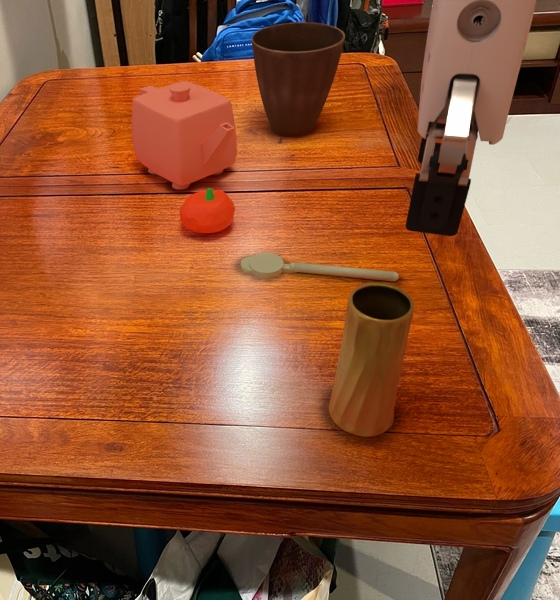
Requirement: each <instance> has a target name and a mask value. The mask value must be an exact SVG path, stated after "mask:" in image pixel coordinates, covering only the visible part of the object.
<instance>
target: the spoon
mask: <svg viewBox="0 0 560 600" xmlns="http://www.w3.org/2000/svg"><path fill="white" fill-rule="evenodd" d="M240 269H241V270H242V271H243V272H245V273H247V274H252V275H253V276H256V277H258V278H264V279H269V278H275V277H277V276H279V275H281V274H282V273H284V272H286V273H294V274H297V273H304V274H315V275H325V276H332V277H333V276H334V277H345V278H354V279H365V280H373V281H374V280H375V281H386V282H397V281H398V280H399V278H400V273H398V272H397V271H390V270H381V269H372V268H371V269H370V268H359V267H351V266H350V267H349V266H341V265H340V266H339V265H329V264H318V263H309V262H308V263H307V262H297V261H292V262H290V263H285V262H284V259H283V258H282V257H281V256H280V255H278V254H276V253H273V252H260V253H256V254H254V255H249V256H245V257H244V258H242V259H241V261H240Z"/></svg>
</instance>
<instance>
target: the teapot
mask: <svg viewBox="0 0 560 600" xmlns="http://www.w3.org/2000/svg"><path fill="white" fill-rule="evenodd" d="M138 92H139V95H137V96H135V97H133V98H132V103H131V104H132V107H131V110H132V111H131V138H132V139H131V140H132V148H133V151H134V156H135V157H136V159H137V161H138V162H139V163H141V164H142V165H143V166H145V168H147V169H148V170H147V172H148V173H149V174H151V175H158V176H159V177H161V178H163V179H165V180H167V181H168V182H171V184H172V185H171V187H172V188H173V189H174V190H185V189H188V188H189V187H190V186H191V184H192V183H195V182H197V181H199V180H202V179H204V178H206V177H210V176H211V175H213V176H217V175H220V174H222V173H224V169H225V170H226V169H227V168H229V167H231V166H233V165H234V164H235V163H236V159H237V155H238V142H237V130H236V121H235V116H234V110H233V105H232V101H231V99H229V98H227V97H226V96H224V95H222V94H221V93H218V92H217V91H214V90H211V89H209V88H207V87H205V86H202V85H199V84H196V83H194V82H190V81H187V80H180V81H177V82H175V83H171V84H169V85H168V84H167V85H165V86H161V87H160V88H159V87H157V86H154V85H151V84H150V85H146V86H143V87H141V88H139V91H138Z"/></svg>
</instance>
